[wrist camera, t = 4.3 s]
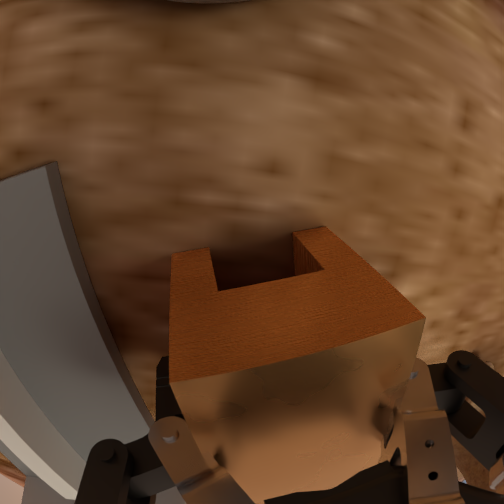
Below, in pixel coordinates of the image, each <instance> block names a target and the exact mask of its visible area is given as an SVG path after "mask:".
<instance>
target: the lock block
mask: <svg viewBox="0 0 504 504" xmlns="http://www.w3.org/2000/svg"><path fill="white" fill-rule="evenodd" d="M292 235H293V252H294V270H295V276H294V277H289V278H284V279H279V280H274V281H269V282H264V283H259V284H254V285H249V286H244V287H239V288H234V289H228V290H223V291H218V289H217V284H216V280H215V275H214V270H213V265H212V260H211V255H210V251H209V247H207V248H201V249H196V250H191V251H185V252H180V253H174V254H172V263H171V285H170V317H169V383H170V386H171V388H172V391H173V393H174V395H175V398H176V400H177V402H178V405H179V407H180V409H181V412H182V414H183V416H184V418H185V420H186V423H187V425H188V427H189V429H190V431H191V433H192V436H193V438H194V440H195V442H196V444H197V446H198V448H199V450H200V452H201V453H205V452H209V453H210V454H211V455H212V457H213V458H214V459H215V460H216V462H217V463H218V464H219V465H220V466H223V467H224V468H225V469H226V470H227V471H228V473H229V474H230V475H231V476H232V477H233V479H234V480H235V481H236V482H237V483H238V485H239V486H240V487H241V488H242V489H243V490H244V491H245V493H246V494H247V495H248V496H249V497H250V498H251V499H252V500H253V502H254V503H255V504H264V500H265V499H270V498H274V497H279V496H283V495H287V494H291V493H294V492H305V491H318V490H327V489H330V488H333V487H336V486H338V485H339V484H341V483H343V482H344V481H346V480H347V479H349V478H350V477H352V476H354V475H355V474H357V473H358V472H360V471H362V470H364V469H367V468H369V467H372V466H374V465H377V463H378V460H379V458H380V456H381V440H382V438H383V435H385V434H388V433H390V432H391V429H392V427H393V424H394V415H393V407H394V404H395V401H396V399H398V398H400V397H403V396H404V394H405V391H406V388H407V384H408V381H409V378H410V375H411V372H412V368H413V365H414V362H415V358H416V355H417V351H418V347H419V344H420V340H421V336H422V332H423V328H424V324H425V319H426V317H425V316H424V315H423V314H422V313H421V312H420V311H419V310H418V309H417V308H416V307H415V306H413V305H412V304H411V303H410V302H409V301H408V300H407V299H406V298H405V297H404V296H403V295H402V294H401V293H400V292H399V291H398V290H396V289H395V288H394V287H393V286H392V285H391V284H390V283H389V282H388V281H387V280H386V279H385V278H384V277H382V276H381V275H380V274H379V273H378V272H377V271H376V270H375V269H374V268H373V267H371V266H370V265H369V264H368V263H367V262H366V261H365V260H364V259H362V258H361V257H360V256H359V255H358V254H357V253H356V252H355V251H353V250H352V249H351V248H350V247H349V246H348V245H347V244H345V243H344V242H343V241H342V240H341V239H340V238H339V237H337V236H336V235H335V234H334V233H333V232H332V231H330V230H329V229H328V228H327V227H326V226H325V227H320V228H314V229H308V230H302V231H297V232H292Z"/></svg>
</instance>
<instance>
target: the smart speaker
mask: <svg viewBox="0 0 504 504" xmlns="http://www.w3.org/2000/svg"><path fill="white" fill-rule="evenodd" d="M169 1H176V2H187V3H231V2H241V1H249V0H169Z"/></svg>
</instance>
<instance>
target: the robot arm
mask: <svg viewBox="0 0 504 504" xmlns="http://www.w3.org/2000/svg"><path fill="white" fill-rule="evenodd" d="M156 378H157V380H156V420H155V423H154V424H153V425H152V426H151V428H150V430H149V433H148V434H147V435H145V436H144V437H142V438H140V439H138V440H135V441H132V442H130V443H127V444H123V443H122V442H121V441H119V440H116V439H104V440H101V441H99V442H97V443H96V444H95V445H94V446H93V447H92V449H91V450H90V453H89V456H88V459H87V462H86V465H85V469H84V472H83V475H82V479H81V482H80V485H79V489H78V492H77V496H76V500H75V503H74V504H155V502H156V495H157V493H160V492H162V491H165V490H167V489H170V488H172V487H175V486H176V487H177V489H178V491H179V493H180V494H181V496H182V498H183V499H184V501H185V502H186V504H255V503H254V502H253V500H252V499H251V498H250V497H249V496H248V495H247V494H246V493H245V491H244V490H243V489H242V488H241V487H240V486H239V485H238V483H237V482H236V481H235V480H234V479H233V477H232V476H231V475H230V474H229V473H228V471H227V470H226V469H225V468H224V467H223V466H220V465H219V464H218V463H217V462H216V460H215V459H214V458H213V457H212V455H211V454H210V453H209V452H205V453H201V452H200V450H199V448H198V446H197V444H196V442H195V440H194V438H193V436H192V433H191V431H190V429H189V427H188V425H187V423H186V420H185V418H184V416H183V414H182V412H181V409H180V407H179V405H178V402H177V400H176V398H175V395H174V393H173V391H172V388H171V386H170V383H169V356H166V357H162V358H161V360H160V362H159V364H158V366H157V372H156ZM466 396H467V397H468V398H469V399H470V400H471V401H472V402H473V403H475V404H476V405H477V406H478V407H479V408H480V409H482V410H483V412H484V413H485V416H486V418H485V417H484V416H483V415H482V414H481V413H480V412H479V411H477V410H476V409H475V408H474V407H473V406H472V405H471V404H469V403H468V402H467V401H466V400H465V398H466ZM393 415H394V424H393V427H392V429H391V432H390V433H388V434H385V435H383V438H382V440H381V458H380V463H379V464H377V465H374V466H372V467H369V468H367V469H364V470H362V471H360V472H358V473H357V474H355V475H354V476H352V477H350V478H349V479H347V480H346V481H344V482H343V483H341V484H339V485H338V486H336V487H334V488H332V489H328V490H318V491H305V492H294V493H291V494H287V495H283V496H279V497H274V498H270V499H265V500H264V504H504V377H502V376H501V375H500V374H499V373H497V372H496V371H495V370H493V369H492V368H491V367H489V366H488V365H487V364H486V363H484V362H483V361H482V360H480V359H479V358H478V357H476V356H475V355H474V354H472V353H470V352H468V351H462V350H460V351H455V352H453V353H451V354H450V355H449V357H448V359H447V362H446V363H439V364H431V365H427V364H426V363H425V362H424V361H423V360H421V359H419V358H415V362H414V365H413V368H412V372H411V375H410V378H409V381H408V384H407V388H406V391H405V394H404V396H403V397H400V398H398V399H396V401H395V404H394V407H393ZM451 435H452V436H453V437H454V438H455V439H456V440H457V441H458V442H459V443H460V444H461V445H462V446H463V447H464V448H465V449H466V450H468V451H469V452H470V453H471V454H472V455H473V456H474V457H475V458H476V459H477V460H478V461H479V462H480V463H481V464H482V465H483V466H484V467H485V468H486V469H487V470H488V471H489V479H490V480H489V487H490V488H491V489H495V490H496V493H495V492H492V491H488V490H485V489H481V488H478V487H475V486H472V485H468V484H465V483H462V482H459V481H458V477H457V469H456V462H455V456H454V450H453V444H452V438H451Z"/></svg>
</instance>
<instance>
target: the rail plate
mask: <svg viewBox="0 0 504 504" xmlns="http://www.w3.org/2000/svg"><path fill="white" fill-rule="evenodd" d="M154 423H155V422H154V420H153V418H152V416H151V414H150V413H149V411H148V409H147V407H146V405H145V403H144V401H143V400H142V398H141V396H140V394H139V392H138V390H137V388H136V386H135V384H134V382H133V380H132V378H131V376H130V374H129V372H128V370H127V368H126V365H125V363H124V361H123V359H122V357H121V355H120V353H119V350H118V348H117V346H116V344H115V341H114V339H113V337H112V334H111V332H110V330H109V327H108V325H107V323H106V320H105V318H104V315H103V313H102V310H101V308H100V305H99V303H98V300H97V297H96V295H95V292H94V289H93V287H92V284H91V281H90V278H89V275H88V272H87V270H86V267H85V264H84V261H83V258H82V255H81V251H80V248H79V245H78V242H77V239H76V235H75V232H74V229H73V225H72V222H71V218H70V214H69V211H68V207H67V203H66V199H65V195H64V191H63V187H62V183H61V178H60V174H59V169H58V165H57V161H56V162H53V163H50V164H46V165H43V166H40V167H37V168H34V169H31V170H28V171H25V172H22V173H20V174H17V175H14V176H11V177H8V178H6V179H3V180H0V452H1V453H2V454H3V455H4V456H5V457H7V458H8V459H9V460H10V461H11V462H12V463H13V464H14V465H15V466H16V467H17V468H18V469H19V470H20V471H22V472H23V473H24V474H25V475H26V481H25V486H24V492H23V498H22V504H74V503H75V500H76V496H77V492H78V489H79V485H80V482H81V479H82V475H83V472H84V469H85V465H86V462H87V459H88V456H89V453H90V450H91V449H92V447H93V446H94V445H95V444H96V443H97V442H99V441H101V440H104V439H116V440H119V441H121V442H122V443H123V444H127V443H130V442H132V441H135V440H138V439H140V438H142V437H144V436H145V435H147V434H148V433H149V430H150V428H151V426H152V425H153V424H154ZM155 504H186V502H185V501H184V499H183V498H182V496H181V494H180V493H179V491H178V489H177V487H176V486H175V487H172V488H170V489H167V490H165V491H162V492H160V493H157V495H156V502H155Z"/></svg>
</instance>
